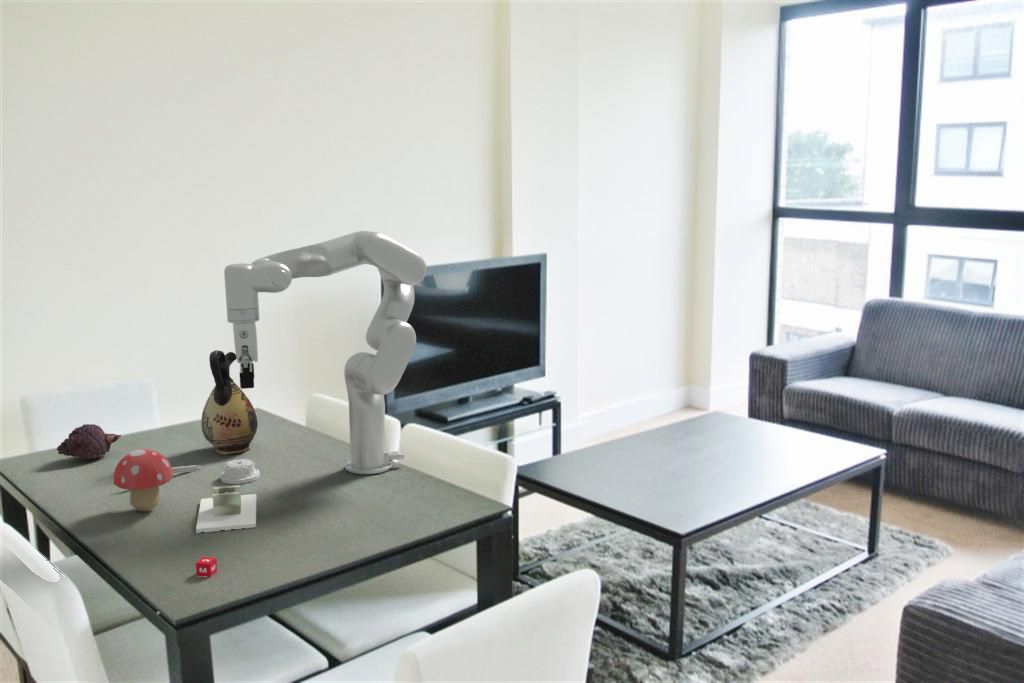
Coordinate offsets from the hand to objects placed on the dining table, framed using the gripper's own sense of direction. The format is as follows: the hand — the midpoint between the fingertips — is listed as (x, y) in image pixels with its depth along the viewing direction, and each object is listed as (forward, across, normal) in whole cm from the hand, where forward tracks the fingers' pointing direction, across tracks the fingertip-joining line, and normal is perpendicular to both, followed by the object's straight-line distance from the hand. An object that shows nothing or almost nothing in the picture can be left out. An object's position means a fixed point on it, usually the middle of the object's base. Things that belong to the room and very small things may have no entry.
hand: (247, 383), depth 236 cm
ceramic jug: (+28, +38, +7) cm, 48 cm away
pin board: (+28, -14, +6) cm, 32 cm away
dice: (+28, -47, +9) cm, 56 cm away
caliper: (+29, +17, +22) cm, 40 cm away
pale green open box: (+27, -14, +6) cm, 31 cm away
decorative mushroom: (+28, -6, +25) cm, 38 cm away
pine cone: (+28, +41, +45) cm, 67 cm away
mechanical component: (+29, +13, +4) cm, 32 cm away
